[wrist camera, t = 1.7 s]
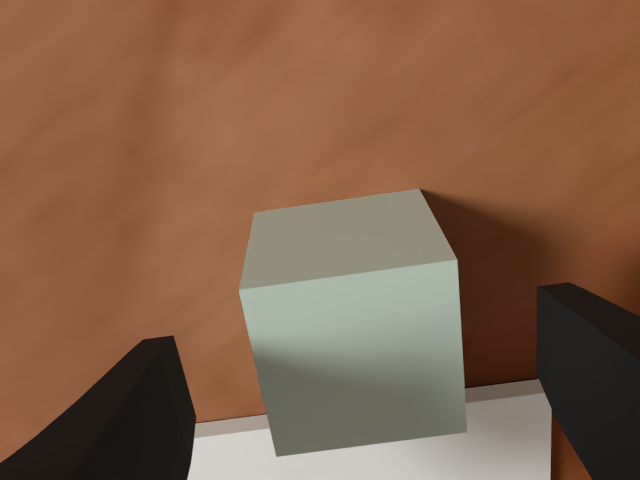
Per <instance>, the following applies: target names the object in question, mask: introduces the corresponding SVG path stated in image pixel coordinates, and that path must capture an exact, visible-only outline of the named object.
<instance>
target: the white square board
mask: <svg viewBox="0 0 640 480" xmlns="http://www.w3.org/2000/svg"><path fill="white" fill-rule="evenodd" d="M465 402H466V419H467V432H466V433H458V434H450V435H442V436H435V437H427V438H419V439H411V440H404V441H396V442H388V443H380V444H373V445H365V446H357V447H350V448H342V449H334V450H326V451H319V452H311V453H303V454H295V455H288V456H280V457H276V454H275V449H274V445H273V440H272V436H271V432H270V427H269V423H268V418H267V414H266V415H258V416H250V417H243V418H235V419H227V420H220V421H212V422H204V423H197V424H196V425H195V435H194V444H193V452H192V460H191V466H190V470H189V474H188V478H187V480H550V472H551V414H552V409H551V406H550V404H549V402H548V400H547V397H546V395H545V392H544V390H543V388H542V385H541V383H540V380H539V379H535V380H528V381H520V382H512V383H505V384H497V385H489V386H482V387H474V388H466V389H465Z"/></svg>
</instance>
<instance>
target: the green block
mask: <svg viewBox="0 0 640 480" xmlns="http://www.w3.org/2000/svg"><path fill="white" fill-rule="evenodd" d="M239 293H240V298H241V302H242V307H243V311H244V316H245V320H246V325H247V329H248V333H249V338H250V342H251V347H252V351H253V356H254V360H255V365H256V369H257V374H258V378H259V383H260V387H261V391H262V396H263V400H264V405H265V409H266V414H267V418H268V423H269V427H270V432H271V436H272V440H273V445H274V449H275V454H276V457H280V456H288V455H295V454H303V453H311V452H319V451H326V450H334V449H342V448H350V447H357V446H365V445H373V444H380V443H388V442H396V441H404V440H411V439H419V438H427V437H435V436H442V435H450V434H458V433H466V432H467V419H466V402H465V384H464V367H463V349H462V332H461V315H460V297H459V280H458V262H457V258H456V256H455V254H454V252H453V251H452V249H451V247H450V245H449V243H448V241H447V239H446V238H445V236H444V234H443V232H442V230H441V228H440V226H439V225H438V223H437V221H436V219H435V217H434V215H433V213H432V212H431V210H430V208H429V206H428V204H427V202H426V200H425V198H424V197H423V195H422V193H421V191H420V189H414V190H407V191H400V192H393V193H386V194H379V195H373V196H366V197H359V198H352V199H345V200H338V201H331V202H324V203H317V204H310V205H303V206H296V207H289V208H282V209H275V210H269V211H262V212H255V213H254V218H253V223H252V228H251V232H250V237H249V242H248V247H247V252H246V257H245V262H244V267H243V272H242V277H241V282H240V286H239Z"/></svg>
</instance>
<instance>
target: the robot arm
mask: <svg viewBox="0 0 640 480" xmlns="http://www.w3.org/2000/svg"><path fill="white" fill-rule="evenodd" d="M537 375H538V378H539V380H540V383H541V385H542V388H543V390H544V392H545V395H546V397H547V400H548V402H549V404H550V406H551V409H552V411H553V413H554V415H555V417H556V419H557V421H558V423H559V424H560V426H561V428H562V430H563V431H564V433H565V435H566V436H567V438H568V440H569V441H570V443H571V445H572V446H573V448H574V450H575V451H576V453H577V455H578V456H579V458H580V460H581V461H582V463H583V465H584V466H585V468H586V470H587V471H588V473H589V475H590V476H591V478H592V479H593V480H640V317H639V316H637V315H635V314H633V313H631V312H629V311H627V310H625V309H623V308H621V307H619V306H617V305H615V304H613V303H611V302H609V301H607V300H605V299H603V298H601V297H599V296H597V295H595V294H593V293H591V292H589V291H587V290H585V289H583V288H581V287H579V286H576V285H574V284H571V283H569V282H568V283H561V284H553V285H546V286H538V287H537ZM195 425H196V414H195V411H194V407H193V404H192V400H191V397H190V393H189V389H188V386H187V382H186V379H185V375H184V371H183V368H182V364H181V361H180V357H179V354H178V350H177V346H176V343H175V339H174V336H166V337H159V338H151V339H144V340H142V341H141V342H140V343H139V344H137V345H136V346H135V347H134V348H133V349H132V350H131V351H129V352H128V353H127V354H126V355H125V356H124V357H123V358H122V359H121V360H120V361H119V362H118V363H117V364H116V365H115V366H114V367H112V368H111V369H110V370H109V371H108V372H107V373H106V374H105V375H104V376H103V377H102V378H101V379H100V380H99V381H98V382H97V383H96V384H94V385H93V386H92V387H91V388H90V389H89V390H88V391H87V392H86V393H85V394H84V395H83V396H82V397H81V398H80V399H78V400H77V401H76V402H75V403H74V404H73V405H72V406H70V407H69V408H68V409H67V410H66V411H65V412H63V413H62V414H61V415H60V416H59V417H58V418H56V419H55V420H54V421H53V422H52V423H51V424H49V425H48V426H47V427H46V428H45V429H44V430H43V431H41V432H40V433H39V434H38V435H37V436H35V437H34V438H33V439H32V440H30V441H29V442H28V443H27V444H25V445H24V446H23V447H21V448H20V449H19V450H18V451H16V452H15V453H14V454H12V455H11V456H9V457H8V458H7V459H5V460H4V461H3V462H1V463H0V480H187V478H188V474H189V470H190V466H191V460H192V452H193V444H194V435H195Z"/></svg>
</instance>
